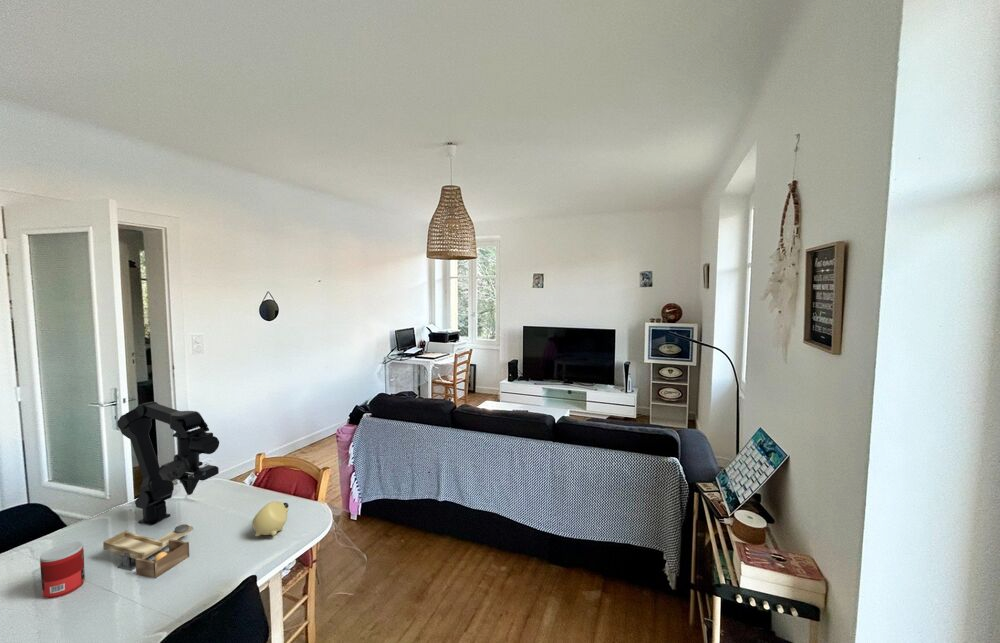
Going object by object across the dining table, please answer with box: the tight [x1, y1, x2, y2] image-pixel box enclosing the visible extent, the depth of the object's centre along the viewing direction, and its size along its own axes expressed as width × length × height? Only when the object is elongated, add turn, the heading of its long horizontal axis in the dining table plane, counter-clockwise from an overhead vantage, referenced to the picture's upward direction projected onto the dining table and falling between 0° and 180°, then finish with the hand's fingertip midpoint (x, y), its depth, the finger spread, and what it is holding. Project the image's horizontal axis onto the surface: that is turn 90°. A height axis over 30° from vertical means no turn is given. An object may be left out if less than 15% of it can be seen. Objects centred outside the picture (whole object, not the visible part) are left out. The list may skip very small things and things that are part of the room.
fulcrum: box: [117, 537, 162, 572], centre depth 123 cm, size 5×8×4 cm, turn 168°
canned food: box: [39, 541, 86, 600], centre depth 110 cm, size 8×8×11 cm
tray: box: [135, 539, 190, 579], centre depth 121 cm, size 7×10×4 cm
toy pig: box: [251, 500, 289, 537], centre depth 138 cm, size 10×12×11 cm
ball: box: [153, 551, 167, 562], centre depth 121 cm, size 3×3×3 cm
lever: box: [103, 523, 194, 559], centre depth 128 cm, size 15×16×2 cm
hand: (189, 494), depth 139 cm, fingers closed
